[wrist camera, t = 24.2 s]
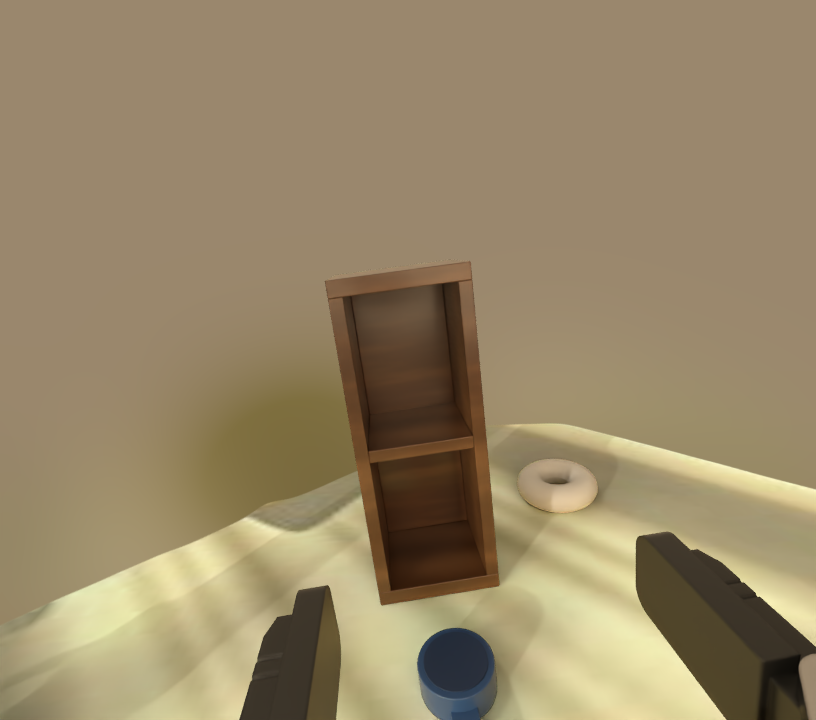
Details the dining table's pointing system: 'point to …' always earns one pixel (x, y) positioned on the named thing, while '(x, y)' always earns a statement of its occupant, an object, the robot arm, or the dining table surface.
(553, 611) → the dining table surface
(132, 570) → the dining table surface
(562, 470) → the donut
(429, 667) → the blue elongated piece
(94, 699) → the dining table surface
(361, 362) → the shelf
